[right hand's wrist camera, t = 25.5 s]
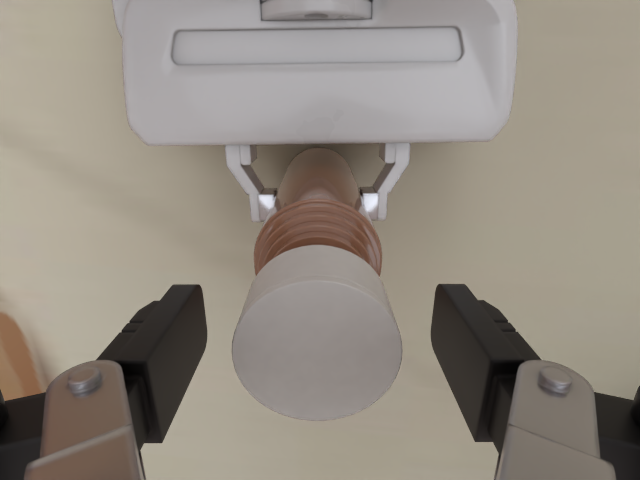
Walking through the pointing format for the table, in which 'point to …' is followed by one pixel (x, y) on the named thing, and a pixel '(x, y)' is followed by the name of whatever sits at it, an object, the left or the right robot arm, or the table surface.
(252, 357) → the cap
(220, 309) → the table surface
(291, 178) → the bottle
